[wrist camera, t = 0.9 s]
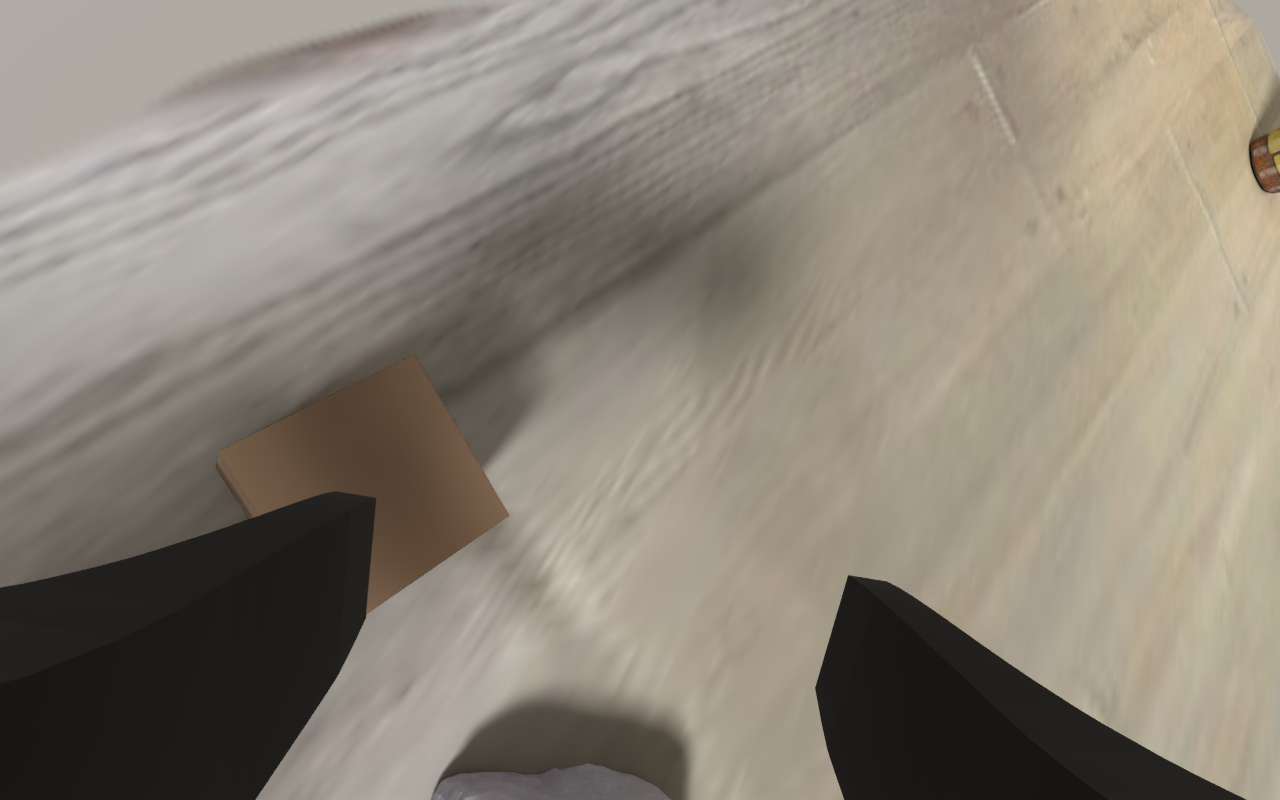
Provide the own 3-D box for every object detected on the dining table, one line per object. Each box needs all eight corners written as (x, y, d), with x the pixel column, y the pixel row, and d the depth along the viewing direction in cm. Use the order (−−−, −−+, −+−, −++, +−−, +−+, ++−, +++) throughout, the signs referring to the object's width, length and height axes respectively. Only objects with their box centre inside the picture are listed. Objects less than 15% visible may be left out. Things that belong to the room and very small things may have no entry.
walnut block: (306, 607, 22) (337, 634, 17) (215, 467, 21) (219, 451, 16) (445, 516, 24) (509, 515, 19) (369, 389, 23) (414, 354, 18)
